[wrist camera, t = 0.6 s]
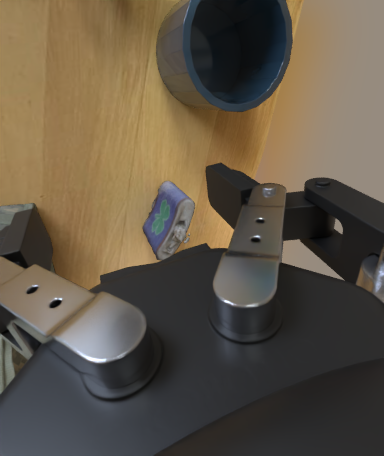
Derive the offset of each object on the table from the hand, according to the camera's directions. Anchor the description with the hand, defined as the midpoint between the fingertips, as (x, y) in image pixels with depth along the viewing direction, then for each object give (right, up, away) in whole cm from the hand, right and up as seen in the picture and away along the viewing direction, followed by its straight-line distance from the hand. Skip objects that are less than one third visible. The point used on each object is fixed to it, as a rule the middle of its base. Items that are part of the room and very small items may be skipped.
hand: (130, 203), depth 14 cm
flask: (-2, +2, +30) cm, 30 cm away
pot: (+4, +21, +24) cm, 32 cm away
